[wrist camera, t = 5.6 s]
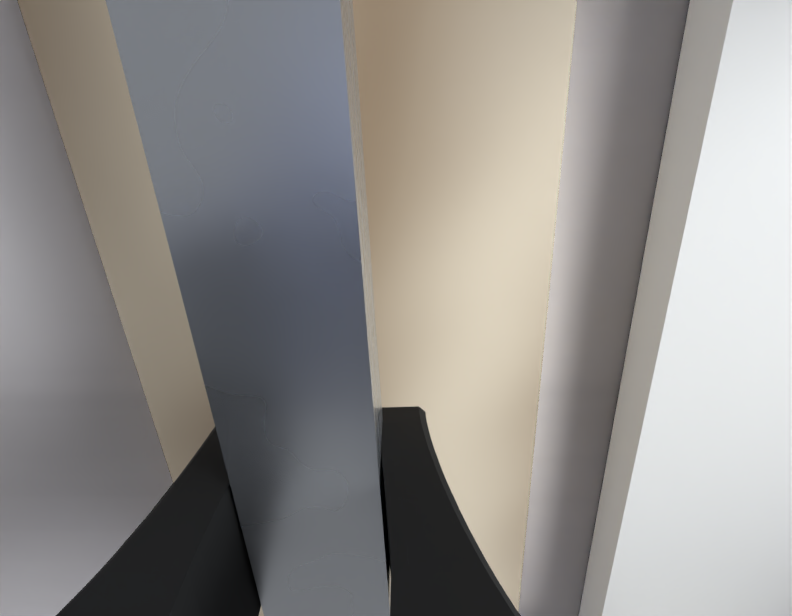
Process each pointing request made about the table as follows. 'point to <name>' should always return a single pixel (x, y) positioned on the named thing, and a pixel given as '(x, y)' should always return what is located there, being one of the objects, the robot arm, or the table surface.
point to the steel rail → (273, 275)
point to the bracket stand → (709, 344)
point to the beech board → (374, 227)
